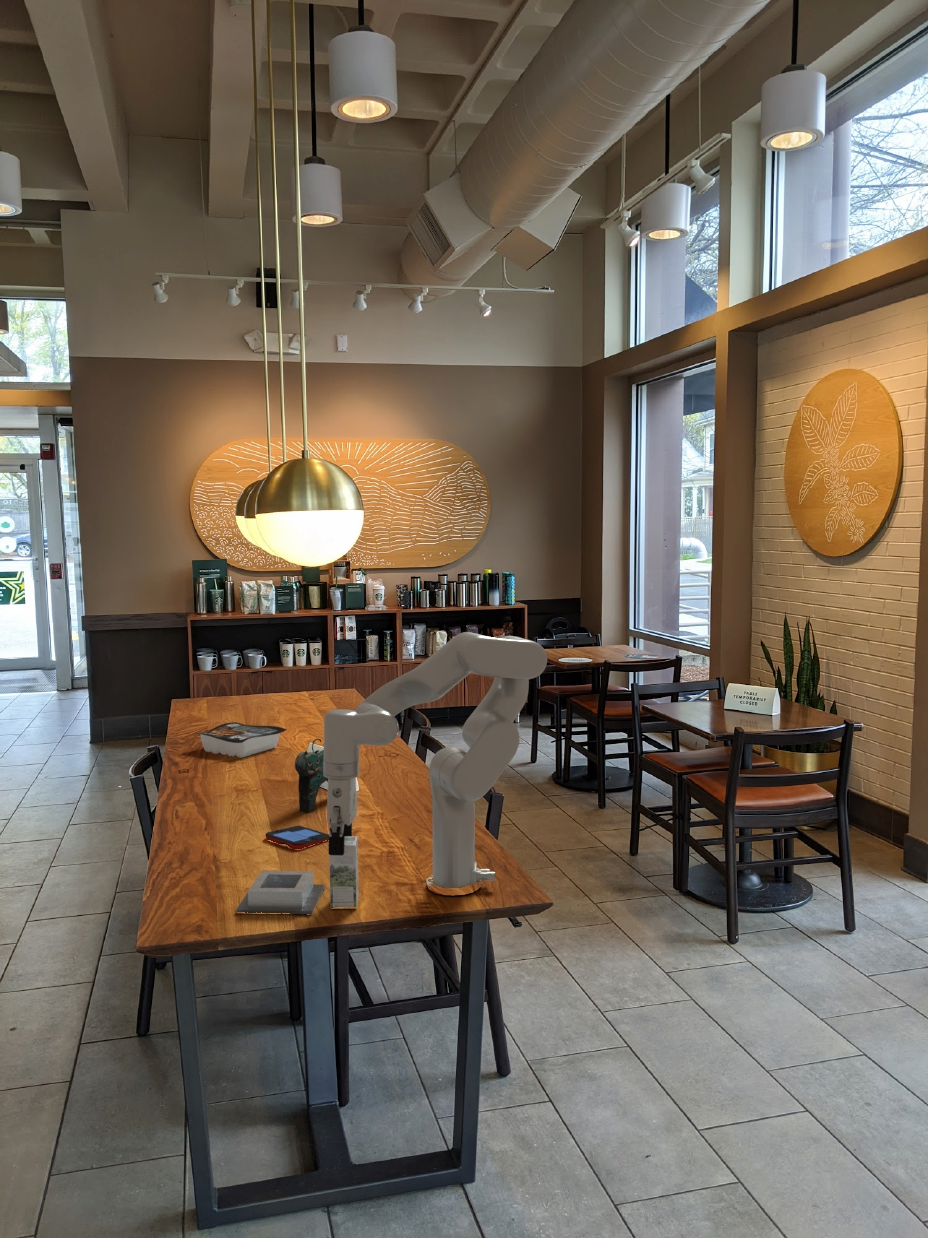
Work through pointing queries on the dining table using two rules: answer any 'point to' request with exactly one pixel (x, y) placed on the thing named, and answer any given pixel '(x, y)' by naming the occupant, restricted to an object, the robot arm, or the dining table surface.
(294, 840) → the game console
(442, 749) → the robot arm
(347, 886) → the syrup box
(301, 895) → the grey holder base
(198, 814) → the dining table surface
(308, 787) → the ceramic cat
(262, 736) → the food packaging
